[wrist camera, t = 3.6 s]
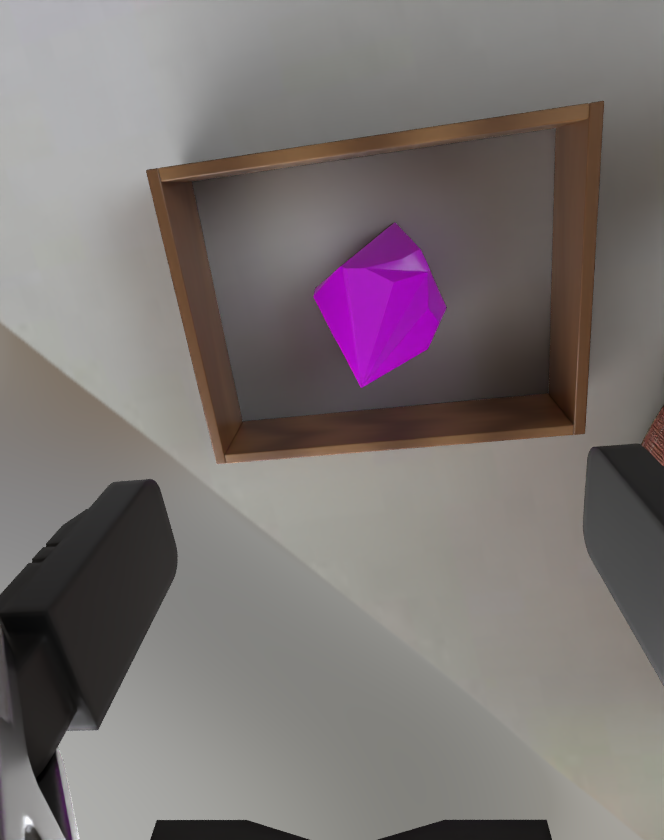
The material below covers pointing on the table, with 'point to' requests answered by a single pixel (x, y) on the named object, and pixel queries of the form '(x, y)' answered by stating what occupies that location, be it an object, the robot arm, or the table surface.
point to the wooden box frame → (409, 423)
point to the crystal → (382, 305)
